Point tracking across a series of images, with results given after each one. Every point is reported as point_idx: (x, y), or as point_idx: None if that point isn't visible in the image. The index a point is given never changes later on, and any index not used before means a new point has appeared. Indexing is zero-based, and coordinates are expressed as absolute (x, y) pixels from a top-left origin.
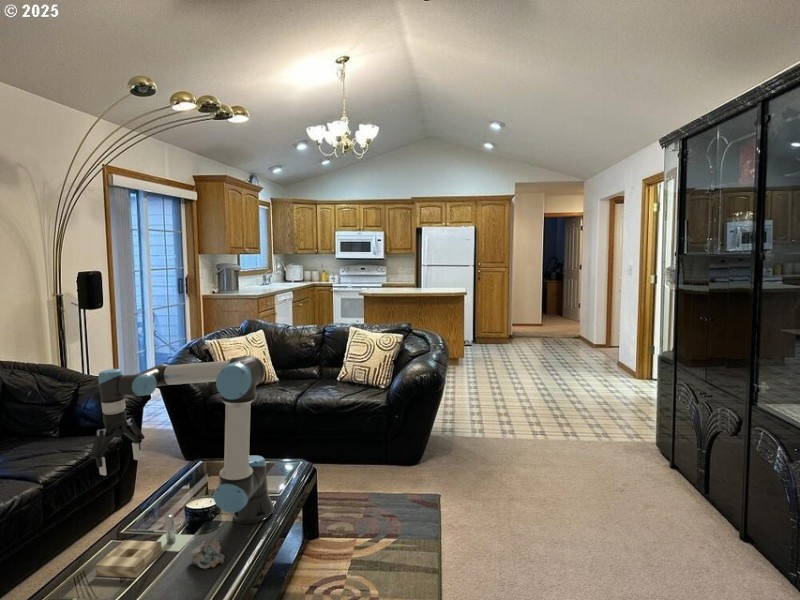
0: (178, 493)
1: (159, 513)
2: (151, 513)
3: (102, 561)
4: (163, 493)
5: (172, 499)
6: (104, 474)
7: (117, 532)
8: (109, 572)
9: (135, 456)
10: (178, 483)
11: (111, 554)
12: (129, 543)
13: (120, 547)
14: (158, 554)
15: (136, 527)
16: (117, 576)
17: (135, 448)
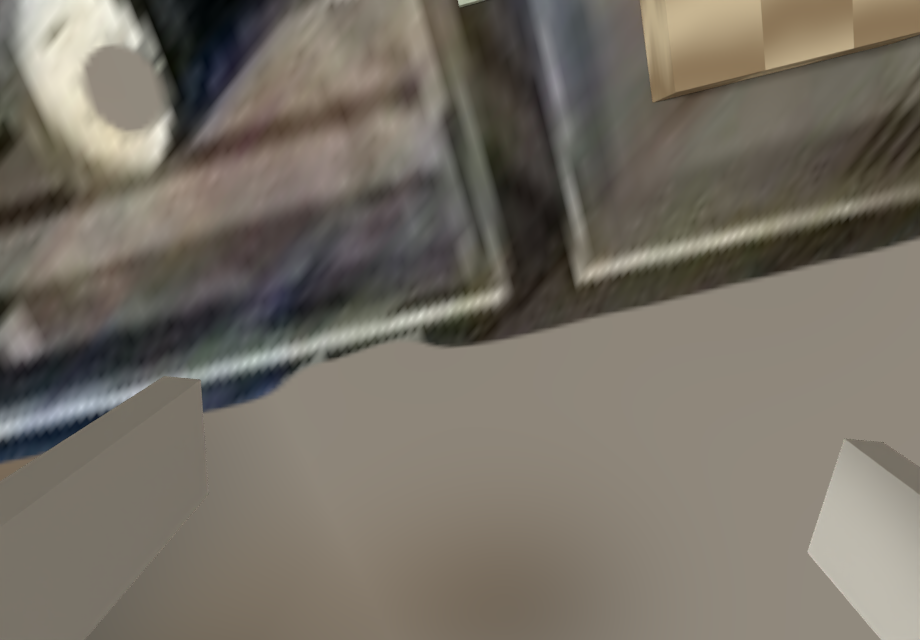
0: (89, 320)
1: (291, 246)
2: (308, 292)
3: (911, 12)
4: None
5: (151, 299)
6: (896, 457)
7: (515, 311)
8: None
9: (166, 484)
10: (14, 410)
11: (833, 25)
12: (703, 18)
13: (753, 38)
14: None
15: (446, 251)
16: None
17: (4, 603)
